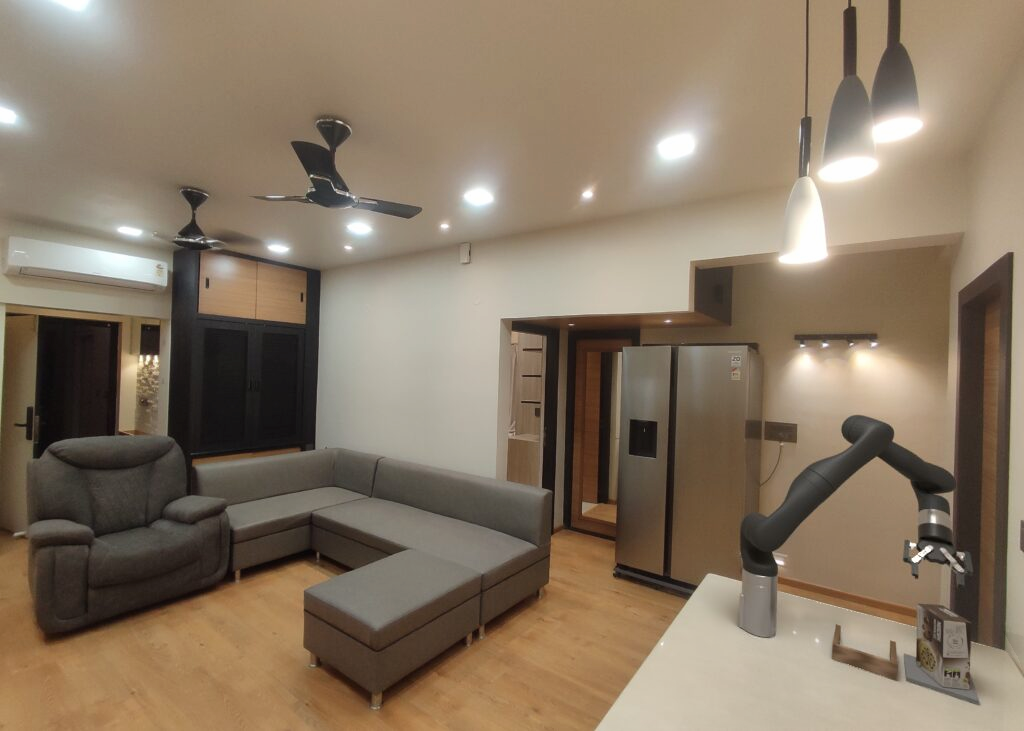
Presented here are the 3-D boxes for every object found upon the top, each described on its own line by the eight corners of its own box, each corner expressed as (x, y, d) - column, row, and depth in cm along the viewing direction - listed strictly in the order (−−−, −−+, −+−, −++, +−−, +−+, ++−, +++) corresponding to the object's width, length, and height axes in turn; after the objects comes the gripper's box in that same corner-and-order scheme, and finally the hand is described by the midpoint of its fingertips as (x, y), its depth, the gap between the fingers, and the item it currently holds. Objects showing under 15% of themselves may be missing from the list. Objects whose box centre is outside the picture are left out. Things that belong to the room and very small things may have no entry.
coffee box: (971, 690, 113) (973, 623, 113) (941, 687, 114) (943, 620, 114) (941, 667, 122) (943, 604, 122) (914, 664, 123) (916, 602, 123)
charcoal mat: (906, 680, 117) (906, 676, 117) (903, 657, 127) (903, 653, 127) (979, 705, 109) (979, 700, 109) (970, 677, 119) (970, 673, 119)
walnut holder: (831, 659, 125) (832, 644, 125) (835, 638, 136) (835, 624, 136) (897, 681, 117) (897, 665, 117) (895, 656, 127) (895, 642, 127)
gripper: (903, 516, 138) (903, 568, 129) (970, 528, 129) (976, 584, 120) (902, 530, 142) (902, 581, 133) (967, 542, 134) (972, 597, 124)
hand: (937, 582), depth 127 cm, fingers open, 8 cm apart
